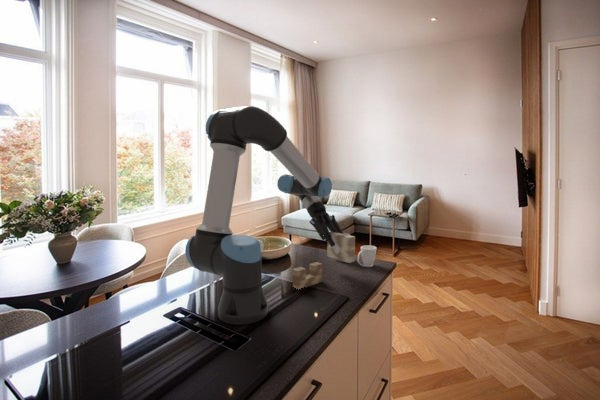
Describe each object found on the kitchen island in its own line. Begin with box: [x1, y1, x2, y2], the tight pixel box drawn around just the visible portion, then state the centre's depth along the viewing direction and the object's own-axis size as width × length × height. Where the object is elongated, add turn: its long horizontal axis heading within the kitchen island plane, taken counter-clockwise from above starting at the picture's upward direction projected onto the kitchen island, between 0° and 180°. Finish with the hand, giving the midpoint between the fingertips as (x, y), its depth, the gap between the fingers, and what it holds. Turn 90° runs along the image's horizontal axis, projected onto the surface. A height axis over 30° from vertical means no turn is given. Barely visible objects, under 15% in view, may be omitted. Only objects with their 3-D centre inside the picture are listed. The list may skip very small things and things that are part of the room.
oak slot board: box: [292, 261, 323, 291], centre depth 125 cm, size 12×3×7 cm, turn 131°
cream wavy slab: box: [326, 231, 356, 264], centre depth 135 cm, size 12×3×10 cm, turn 41°
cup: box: [356, 244, 378, 268], centre depth 145 cm, size 7×10×8 cm
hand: (342, 251), depth 134 cm, fingers closed on cream wavy slab, 3 cm apart
